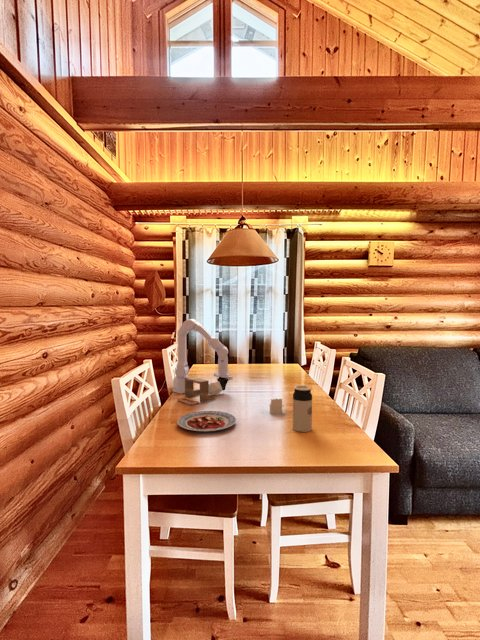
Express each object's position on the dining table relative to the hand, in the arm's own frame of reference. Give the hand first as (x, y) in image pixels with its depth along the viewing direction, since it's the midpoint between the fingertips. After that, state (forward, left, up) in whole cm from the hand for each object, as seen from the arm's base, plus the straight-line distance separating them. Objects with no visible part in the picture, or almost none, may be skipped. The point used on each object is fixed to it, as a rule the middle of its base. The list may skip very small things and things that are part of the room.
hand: (223, 390), depth 210 cm
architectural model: (+46, -6, -2) cm, 47 cm away
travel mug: (+68, -16, -2) cm, 70 cm away
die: (0, -7, -2) cm, 7 cm away
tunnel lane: (0, -17, -2) cm, 17 cm away
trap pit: (+2, -27, -2) cm, 27 cm away
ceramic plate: (+35, -41, -2) cm, 54 cm away
